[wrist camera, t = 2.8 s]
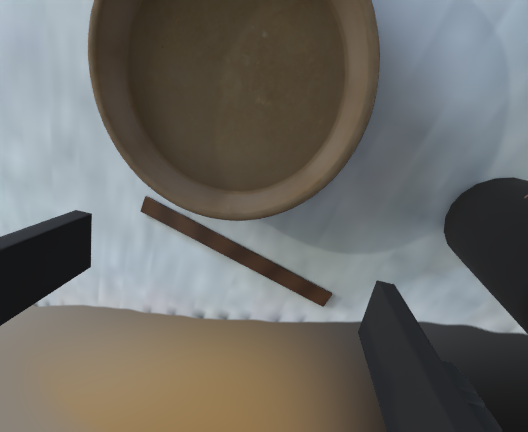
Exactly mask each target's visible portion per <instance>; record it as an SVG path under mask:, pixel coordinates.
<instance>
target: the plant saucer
mask: <svg viewBox="0 0 528 432" xmlns="http://www.w3.org/2000/svg"><path fill="white" fill-rule="evenodd" d="M88 60H89V70H90V78H91V83H92V88H93V93H94V97H95V101H96V104H97V107H98V110H99V113H100V116H101V118H102V121H103V123H104V126H105V128H106V130H107V132H108V134H109V136H110V138H111V140H112V141H113V143H114V145H115V147H116V148H117V150H118V151H119V153H120V155H121V156H122V157H123V159H124V160H125V162H126V163H127V164H128V165H129V166H130V168H131V169H132V170H133V171H134V172H135V173H136V175H137V176H138V177H139V178H140V179H141V180H142V181H143V182H144V183H146V184H147V185H148V186H149V187H150V188H151V189H153V190H154V191H155V192H156V193H158V194H159V195H161V196H162V197H164V198H165V199H167V200H168V201H170V202H172V203H174V204H175V205H177V206H179V207H181V208H183V209H185V210H188V211H191V212H193V213H196V214H199V215H202V216H206V217H210V218H215V219H222V220H235V221H243V220H254V219H261V218H265V217H269V216H273V215H276V214H279V213H282V212H285V211H287V210H290V209H292V208H294V207H296V206H298V205H300V204H301V203H303V202H305V201H306V200H308V199H310V198H311V197H313V196H314V195H315V194H317V193H318V192H319V191H320V190H322V189H323V188H324V187H325V186H326V185H327V184H328V183H330V182H331V181H332V180H333V179H334V178H335V176H336V175H337V174H338V173H339V172H340V171H341V169H342V168H343V167H344V166H345V164H346V163H347V162H348V160H349V159H350V157H351V156H352V154H353V152H354V151H355V149H356V147H357V146H358V144H359V142H360V140H361V138H362V136H363V134H364V131H365V129H366V127H367V124H368V122H369V119H370V116H371V113H372V109H373V106H374V102H375V98H376V92H377V87H378V79H379V65H380V50H379V36H378V28H377V23H376V17H375V12H374V7H373V4H372V1H371V0H94V3H93V7H92V11H91V17H90V24H89V33H88Z"/></svg>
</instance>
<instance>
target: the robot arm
mask: <svg viewBox="0 0 528 432" xmlns="http://www.w3.org/2000/svg"><path fill="white" fill-rule="evenodd" d="M91 220H92V214H90V213H86V212H82V211H77V210H75V211H72V212H69V213H67V214H64V215H61V216H58V217H55V218H52V219H50V220H47V221H44V222H41V223H38V224H35V225H33V226H30V227H27V228H24V229H21V230H19V231H16V232H13V233H10V234H7V235H4V236H2V237H0V326H1V325H2V324H4V323H5V322H7V321H8V320H10V319H11V318H13V317H14V316H16V315H17V314H19V313H21V312H22V311H24V310H25V309H27V308H28V307H30V306H31V305H33V304H34V303H36V302H38V301H39V300H41V299H42V298H44V297H45V296H47V295H48V294H50V293H51V292H53V291H54V290H56V289H57V288H59V287H61V286H62V285H64V284H65V283H67V282H68V281H70V280H71V279H73V278H74V277H76V276H77V275H79V274H81V273H82V272H84V271H85V270H87V269H88V268H90V267H91ZM358 333H359V337H360V340H361V344H362V347H363V351H364V354H365V357H366V361H367V364H368V368H369V371H370V375H371V378H372V381H373V385H374V388H375V392H376V395H377V398H378V402H379V406H380V409H381V412H382V416H383V419H384V423H385V426H386V430H387V432H503V431H502V429H501V428H500V426H499V425H498V423H497V422H496V420H495V419H494V417H493V416H492V414H491V413H490V411H489V410H488V409H486V408H485V404H484V402H483V401H482V399H481V398H480V396H478V395H477V392H476V391H475V389H474V388H473V386H472V385H471V383H470V382H469V380H468V379H467V378H466V376H465V375H464V374H463V373H462V372H460V371H459V370H458V369H457V368H456V367H455V366H454V365H453V364H452V363H450V362H446V361H442V360H440V358H439V356H438V355H437V353H436V351H435V350H434V348H433V346H432V345H431V343H430V342H429V340H428V338H427V337H426V335H425V333H424V332H423V330H422V329H421V327H420V325H419V324H418V322H417V320H416V319H415V317H414V316H413V314H412V312H411V311H410V309H409V307H408V306H407V304H406V303H405V301H404V299H403V298H402V296H401V294H400V293H399V291H398V290H397V288H396V286H395V285H394V284H390V283H386V282H381V281H376V284H375V287H374V289H373V292H372V295H371V298H370V301H369V303H368V306H367V309H366V312H365V315H364V317H363V320H362V323H361V326H360V329H359V331H358Z"/></svg>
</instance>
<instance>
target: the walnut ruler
mask: <svg viewBox="0 0 528 432" xmlns="http://www.w3.org/2000/svg"><path fill="white" fill-rule="evenodd" d="M141 212H143V213H145V214H147V215H149V216H151V217H153V218H154V219H156V220H158V221H160V222H162V223H164V224H166V225H168V226H170V227H172V228H174V229H175V230H177V231H179V232H181V233H183V234H185V235H187V236H189V237H191V238H193V239H195V240H196V241H198V242H200V243H202V244H204V245H206V246H208V247H210V248H212V249H214V250H216V251H217V252H219V253H221V254H223V255H225V256H227V257H229V258H231V259H233V260H235V261H237V262H238V263H240V264H242V265H244V266H246V267H248V268H250V269H252V270H254V271H256V272H258V273H259V274H261V275H263V276H265V277H267V278H269V279H271V280H273V281H275V282H277V283H278V284H280V285H282V286H284V287H286V288H288V289H290V290H292V291H294V292H296V293H298V294H299V295H301V296H303V297H305V298H307V299H309V300H311V301H313V302H315V303H317V304H319V305H320V306H322V307H323V306H324V305H325V304H326V302H327V301H328V300H329V298H330V297H331V296H332V293H330V292H328V291H326V290H325V289H323V288H321V287H319V286H317V285H315V284H313V283H311V282H309V281H307V280H305V279H304V278H302V277H300V276H298V275H296V274H294V273H292V272H290V271H288V270H286V269H284V268H283V267H281V266H279V265H277V264H275V263H273V262H271V261H269V260H267V259H265V258H263V257H262V256H260V255H258V254H256V253H254V252H252V251H250V250H248V249H246V248H244V247H242V246H241V245H239V244H237V243H235V242H233V241H231V240H229V239H227V238H225V237H223V236H222V235H220V234H218V233H216V232H214V231H212V230H210V229H208V228H206V227H204V226H202V225H201V224H199V223H197V222H195V221H193V220H191V219H189V218H187V217H185V216H183V215H181V214H180V213H178V212H176V211H174V210H172V209H170V208H168V207H166V206H164V205H162V204H160V203H159V202H157V201H155V200H153V199H151V198H149V197H147V196H146V197H145V199H144V202H143V205H142V208H141Z"/></svg>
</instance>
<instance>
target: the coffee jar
mask: <svg viewBox="0 0 528 432" xmlns="http://www.w3.org/2000/svg"><path fill="white" fill-rule="evenodd" d="M444 233H445V237H446V241H447V244H448V245H449V246H450V248H451V249H452V250H453V251H454V253H455V254H456V255H457V256H458V257H459V258H460V259H461V261H462V262H463V263H464V264H465V265H466V266H467V267H468V268H469V269H470V271H471V272H472V273H473V274H474V275H475V276H476V277H477V278H478V279H479V280H480V282H481V283H482V284H483V285H484V286H485V287H486V288H487V289H488V290H489V292H490V293H491V294H492V295H493V296H494V297H495V298H496V299H497V300H498V301H499V303H500V304H501V305H502V306H503V307H504V308H505V309H506V310H507V311H508V313H509V314H510V315H511V316H512V317H513V318H514V319H515V320H516V321H517V322H518V324H519V325H520V326H521V327H522V328H523V329H524V330H525V331H526V332H527V334H528V181H525V180H521V179H517V178H496V179H492V180H489V181H486V182H483V183H479V184H476V185H475V186H473V187H472V188H470V189H468V190H467V191H465V192H464V193H462V194H461V195H460V196H459V197H458V198H457V199H456V201H455V202H454V203H453V204H452V205H451V207H450V209H449V211H448V213H447V215H446V218H445V227H444Z"/></svg>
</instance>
